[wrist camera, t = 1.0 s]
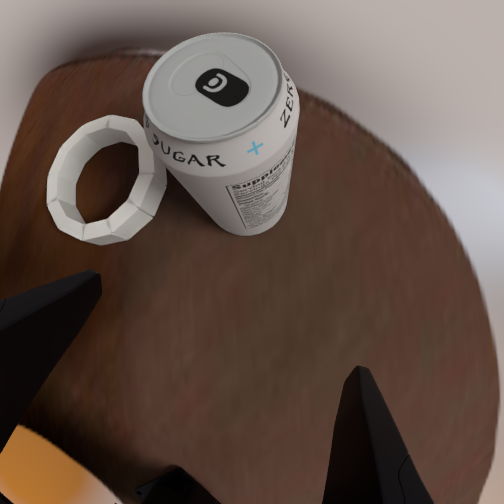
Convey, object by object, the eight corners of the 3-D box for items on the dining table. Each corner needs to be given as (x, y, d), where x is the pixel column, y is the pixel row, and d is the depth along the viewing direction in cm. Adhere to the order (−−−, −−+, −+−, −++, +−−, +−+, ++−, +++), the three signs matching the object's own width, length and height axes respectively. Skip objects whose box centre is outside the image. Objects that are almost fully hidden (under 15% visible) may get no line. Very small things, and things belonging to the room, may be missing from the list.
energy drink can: (242, 149, 25) (208, 6, 10) (302, 193, 24) (337, 68, 9) (193, 205, 24) (96, 106, 9) (252, 254, 24) (216, 198, 9)
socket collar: (98, 268, 24) (78, 266, 21) (52, 184, 26) (33, 175, 23) (190, 186, 24) (179, 173, 21) (129, 111, 26) (116, 95, 23)
